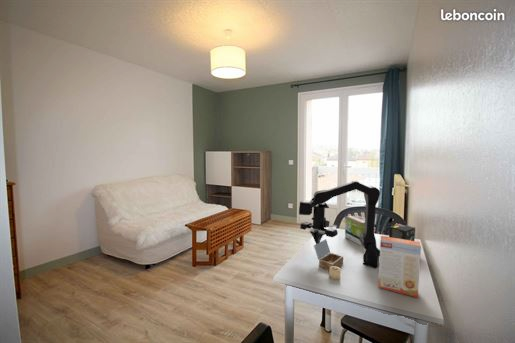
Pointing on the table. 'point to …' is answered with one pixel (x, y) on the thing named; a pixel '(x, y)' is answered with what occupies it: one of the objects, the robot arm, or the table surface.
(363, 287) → the table surface
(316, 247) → the lid
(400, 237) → the tampon box
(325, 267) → the walnut box
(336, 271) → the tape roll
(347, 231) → the tea box
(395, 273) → the cracker box
